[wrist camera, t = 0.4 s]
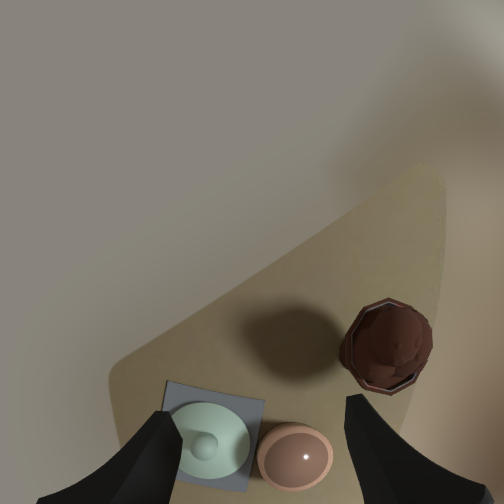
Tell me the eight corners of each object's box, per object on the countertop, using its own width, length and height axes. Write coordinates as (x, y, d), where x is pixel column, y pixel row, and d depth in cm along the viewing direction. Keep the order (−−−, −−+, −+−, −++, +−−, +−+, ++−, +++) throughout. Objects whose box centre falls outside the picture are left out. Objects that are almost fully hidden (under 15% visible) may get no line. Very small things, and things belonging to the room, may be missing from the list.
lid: (241, 483, 29) (242, 495, 25) (159, 465, 29) (151, 475, 25) (256, 410, 33) (259, 416, 29) (171, 393, 33) (164, 396, 29)
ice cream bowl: (320, 394, 35) (370, 406, 21) (321, 313, 39) (368, 282, 25) (389, 387, 35) (458, 388, 21) (388, 312, 39) (451, 283, 25)
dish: (316, 481, 30) (324, 492, 26) (250, 477, 30) (252, 488, 26) (329, 424, 33) (339, 430, 29) (262, 418, 33) (266, 424, 29)
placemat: (245, 491, 29) (245, 492, 29) (152, 472, 29) (152, 472, 29) (264, 400, 34) (265, 400, 34) (168, 380, 34) (167, 380, 34)
